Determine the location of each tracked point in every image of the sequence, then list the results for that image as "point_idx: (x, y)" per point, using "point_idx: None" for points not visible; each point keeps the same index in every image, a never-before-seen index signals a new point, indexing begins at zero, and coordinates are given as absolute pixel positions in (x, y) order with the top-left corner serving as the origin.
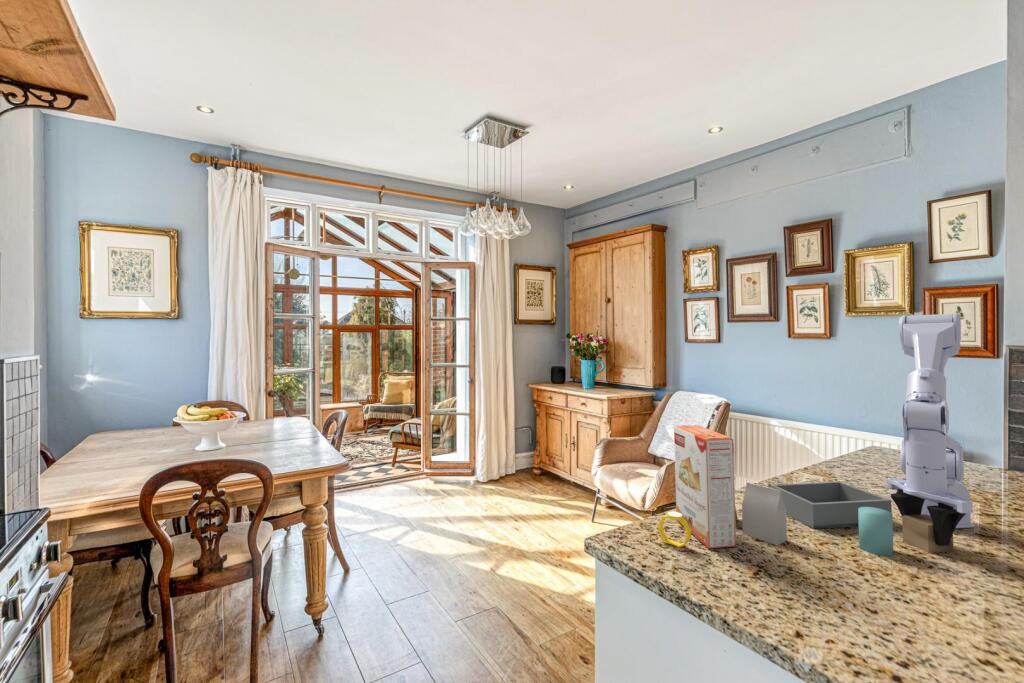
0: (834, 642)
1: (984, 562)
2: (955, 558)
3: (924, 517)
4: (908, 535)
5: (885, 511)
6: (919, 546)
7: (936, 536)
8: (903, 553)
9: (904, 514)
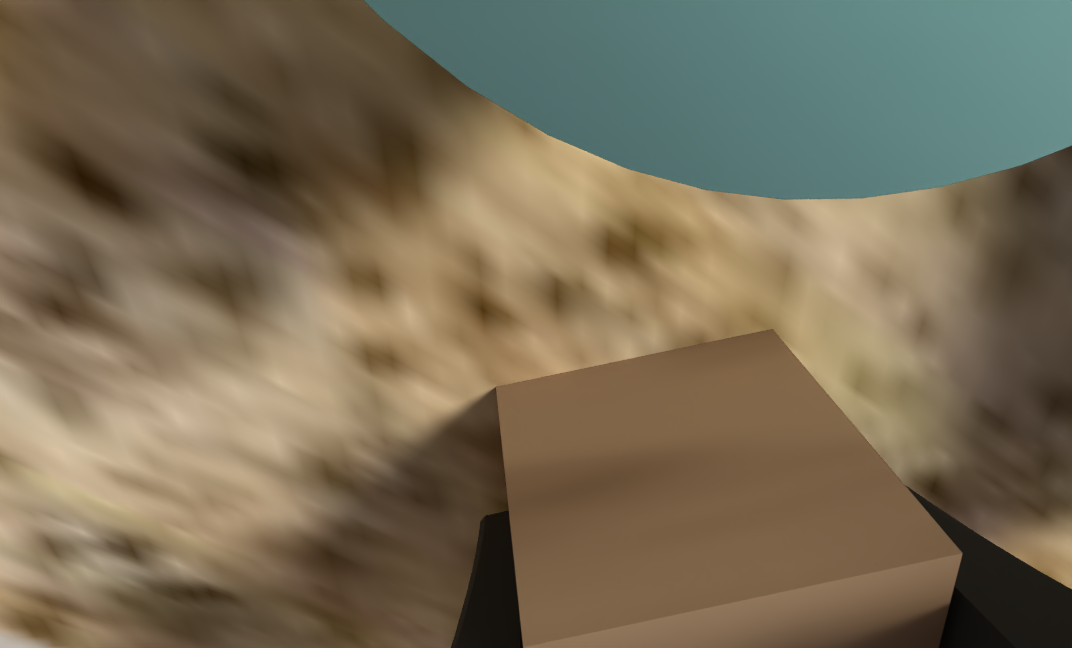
0: None
1: (347, 635)
2: (392, 514)
3: None
4: (744, 397)
5: (909, 41)
6: (592, 380)
7: (492, 581)
8: (457, 122)
9: (982, 594)
